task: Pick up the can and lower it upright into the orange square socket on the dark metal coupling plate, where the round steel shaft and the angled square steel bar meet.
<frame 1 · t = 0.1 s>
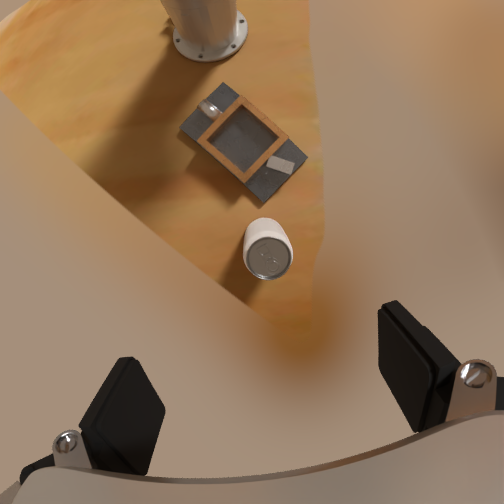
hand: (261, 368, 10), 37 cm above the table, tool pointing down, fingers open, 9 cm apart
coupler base: (243, 141, 42), on the table
can: (264, 236, 47), on the table
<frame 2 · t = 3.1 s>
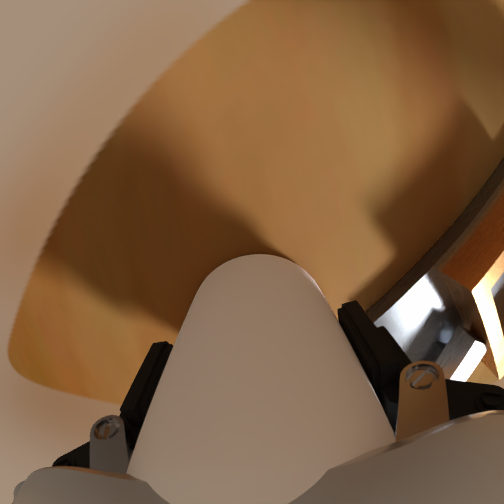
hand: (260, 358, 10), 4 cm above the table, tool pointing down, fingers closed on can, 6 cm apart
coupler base: (495, 261, 13), on the table
can: (258, 311, 14), on the table, touching gripper
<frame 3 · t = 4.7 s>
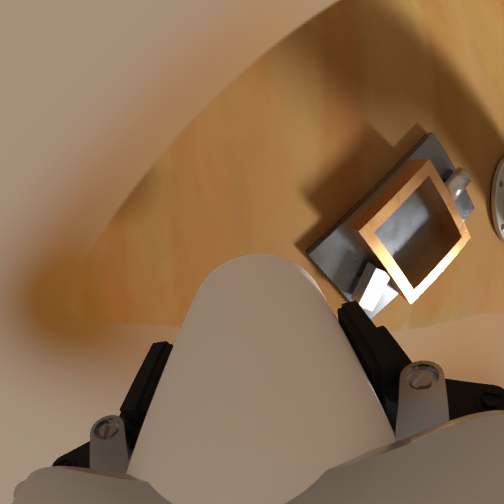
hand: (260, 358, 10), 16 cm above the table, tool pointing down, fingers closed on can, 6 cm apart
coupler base: (400, 225, 26), on the table
can: (258, 311, 14), point 12 cm above the table, touching gripper
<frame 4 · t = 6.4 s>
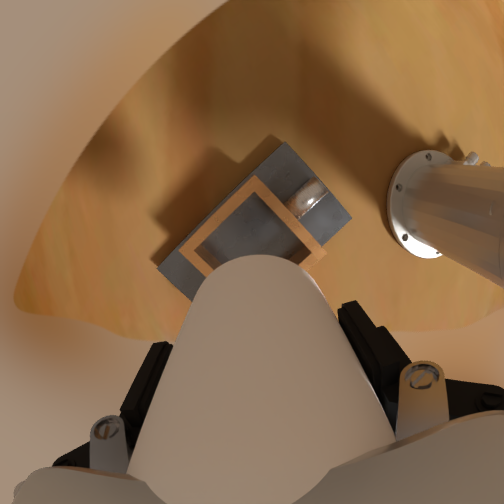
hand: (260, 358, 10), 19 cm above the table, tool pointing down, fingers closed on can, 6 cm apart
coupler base: (252, 240, 29), on the table
can: (258, 312, 14), point 15 cm above the table, touching gripper
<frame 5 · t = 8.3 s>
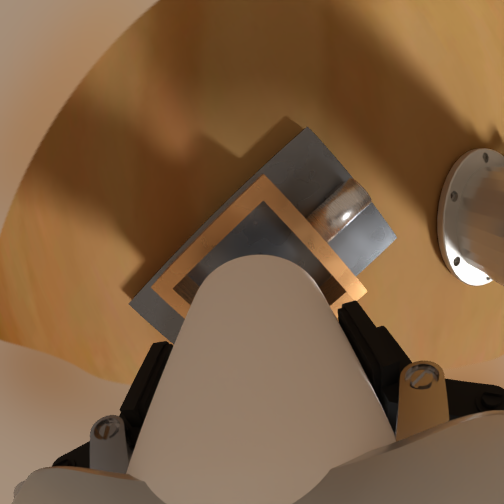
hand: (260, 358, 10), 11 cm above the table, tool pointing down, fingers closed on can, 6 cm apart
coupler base: (259, 267, 21), on the table
can: (258, 312, 14), point 7 cm above the table, touching gripper
when the fingers open (6 cm above the table, at t = 10.0 s): can stays where it is, resting on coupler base.
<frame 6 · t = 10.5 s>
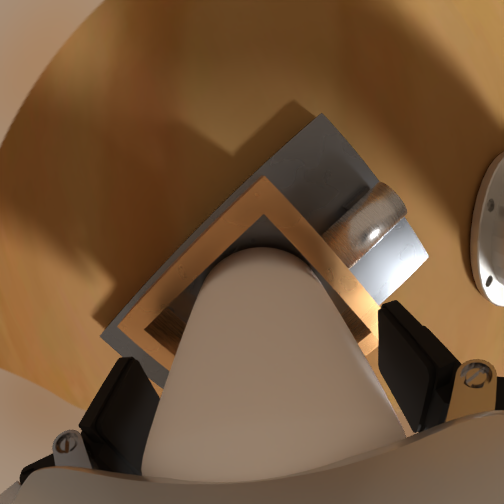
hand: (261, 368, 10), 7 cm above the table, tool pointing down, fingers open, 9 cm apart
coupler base: (257, 295, 16), on the table
can: (260, 302, 15), point 1 cm above the table, touching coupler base
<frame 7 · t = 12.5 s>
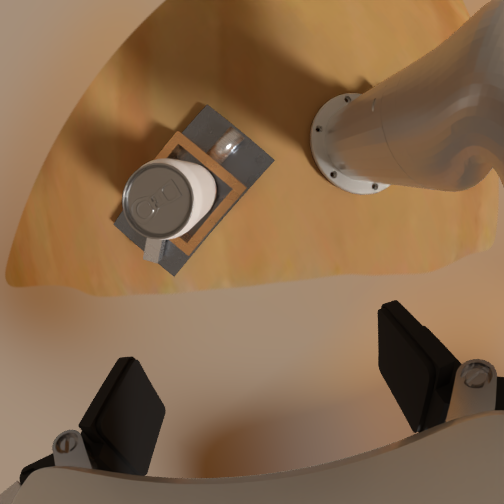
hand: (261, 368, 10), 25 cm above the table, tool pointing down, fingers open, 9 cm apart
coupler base: (189, 191, 32), on the table
can: (189, 190, 31), point 1 cm above the table, touching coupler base
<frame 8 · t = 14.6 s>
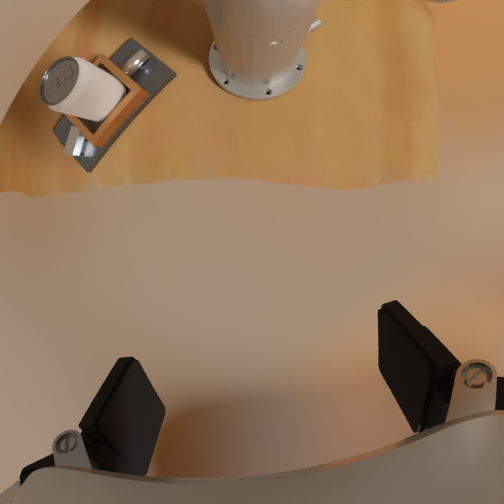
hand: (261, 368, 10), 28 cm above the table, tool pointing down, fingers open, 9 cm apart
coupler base: (110, 103, 32), on the table
can: (107, 100, 31), point 1 cm above the table, touching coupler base
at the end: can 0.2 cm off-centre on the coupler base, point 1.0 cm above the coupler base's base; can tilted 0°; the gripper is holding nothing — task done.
